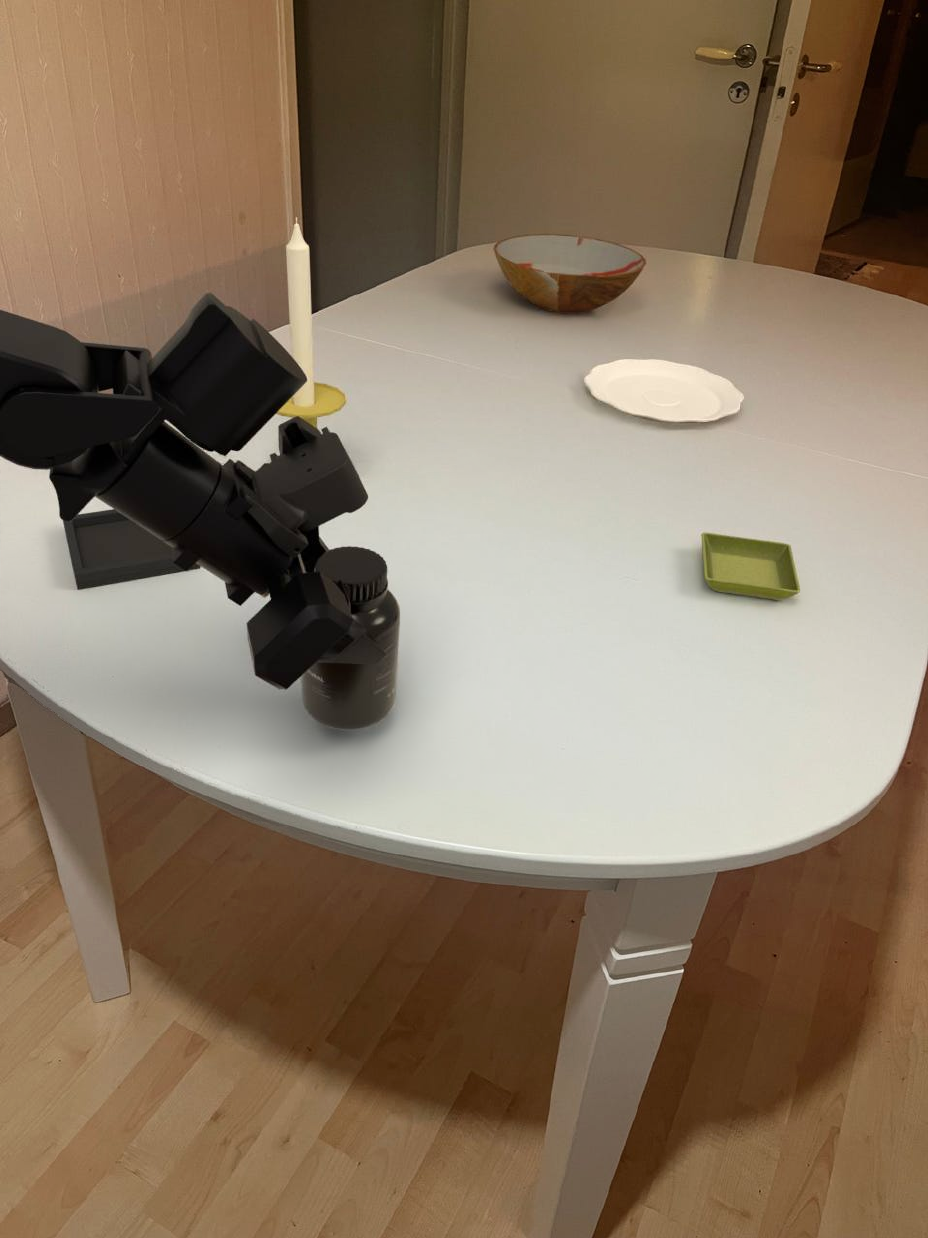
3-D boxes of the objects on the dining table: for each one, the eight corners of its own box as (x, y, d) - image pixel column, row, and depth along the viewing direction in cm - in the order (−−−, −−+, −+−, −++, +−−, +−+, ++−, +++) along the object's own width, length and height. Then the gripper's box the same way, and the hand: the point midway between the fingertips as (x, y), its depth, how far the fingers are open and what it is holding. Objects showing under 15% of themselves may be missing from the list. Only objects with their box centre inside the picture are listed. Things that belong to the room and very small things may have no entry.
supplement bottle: (285, 719, 66) (278, 578, 59) (325, 664, 71) (322, 528, 64) (376, 744, 64) (380, 602, 57) (409, 685, 70) (416, 549, 63)
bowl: (475, 315, 148) (479, 263, 143) (504, 273, 168) (508, 227, 163) (632, 336, 144) (641, 284, 140) (642, 291, 164) (651, 244, 160)
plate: (551, 388, 125) (553, 376, 124) (655, 360, 136) (657, 349, 135) (668, 446, 112) (671, 433, 111) (771, 410, 124) (775, 398, 123)
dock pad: (77, 589, 81) (74, 574, 80) (65, 530, 88) (61, 516, 88) (200, 568, 85) (198, 553, 84) (178, 513, 92) (176, 499, 91)
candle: (316, 455, 105) (308, 199, 89) (373, 488, 99) (375, 222, 83) (241, 480, 99) (217, 211, 83) (297, 517, 93) (283, 237, 77)
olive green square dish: (795, 610, 85) (801, 592, 84) (699, 597, 86) (704, 578, 85) (784, 561, 92) (790, 543, 91) (696, 549, 93) (701, 531, 92)
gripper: (310, 478, 46) (498, 630, 55) (260, 346, 60) (417, 485, 69) (162, 626, 48) (368, 747, 58) (148, 465, 62) (315, 583, 72)
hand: (369, 627), depth 64 cm, fingers closed on supplement bottle, 7 cm apart
